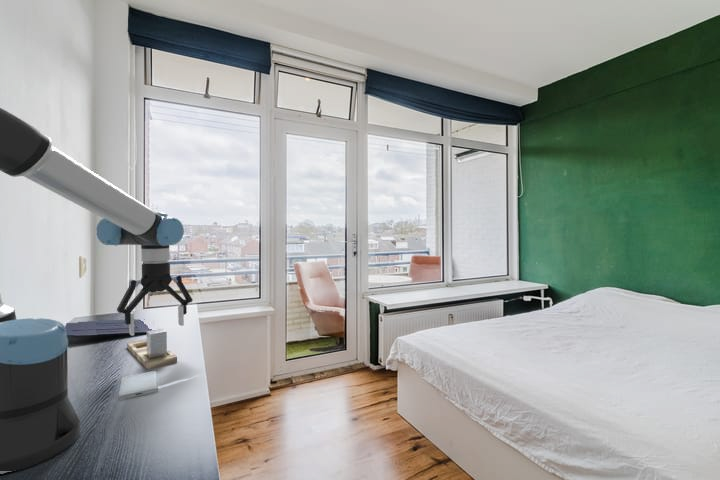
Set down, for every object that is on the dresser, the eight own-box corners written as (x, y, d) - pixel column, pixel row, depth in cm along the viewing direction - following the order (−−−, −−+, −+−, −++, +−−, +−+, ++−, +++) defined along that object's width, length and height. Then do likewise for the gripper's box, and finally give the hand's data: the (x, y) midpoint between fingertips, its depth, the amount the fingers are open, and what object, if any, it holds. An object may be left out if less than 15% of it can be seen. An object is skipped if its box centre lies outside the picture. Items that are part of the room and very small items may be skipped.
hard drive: (121, 377, 91) (118, 395, 80) (156, 370, 95) (157, 387, 85) (121, 383, 91) (118, 402, 80) (156, 375, 95) (158, 393, 85)
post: (166, 360, 104) (166, 331, 104) (150, 363, 101) (150, 334, 101) (162, 356, 107) (162, 328, 107) (146, 360, 104) (146, 331, 104)
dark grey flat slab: (65, 328, 135) (67, 319, 136) (151, 325, 154) (152, 317, 154) (60, 344, 116) (62, 334, 116) (159, 338, 135) (160, 329, 135)
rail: (177, 363, 103) (177, 356, 103) (147, 371, 97) (147, 363, 97) (153, 343, 121) (153, 337, 121) (127, 349, 115) (127, 343, 115)
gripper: (193, 258, 115) (195, 319, 116) (103, 264, 97) (105, 336, 98) (202, 259, 110) (203, 323, 110) (108, 266, 92) (110, 342, 93)
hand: (157, 329), depth 104 cm, fingers open, 13 cm apart
